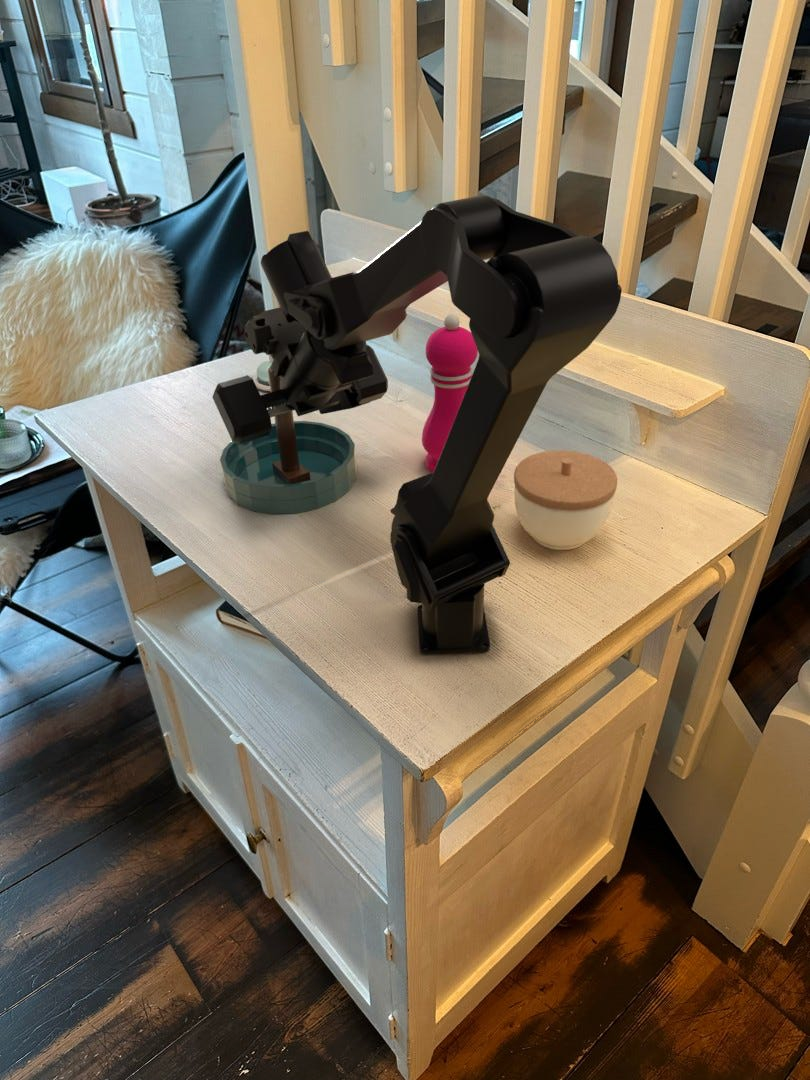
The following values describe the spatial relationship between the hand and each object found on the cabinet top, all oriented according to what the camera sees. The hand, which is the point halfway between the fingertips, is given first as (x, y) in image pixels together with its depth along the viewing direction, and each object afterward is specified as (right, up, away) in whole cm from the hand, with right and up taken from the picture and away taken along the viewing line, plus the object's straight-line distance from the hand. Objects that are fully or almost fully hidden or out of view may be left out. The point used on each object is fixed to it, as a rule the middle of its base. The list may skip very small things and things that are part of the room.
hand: (286, 420), depth 89 cm
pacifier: (-7, +10, +30) cm, 32 cm away
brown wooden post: (0, -6, +5) cm, 8 cm away
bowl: (0, -7, +6) cm, 9 cm away
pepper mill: (+20, -5, +8) cm, 22 cm away
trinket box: (+31, -14, -5) cm, 34 cm away
